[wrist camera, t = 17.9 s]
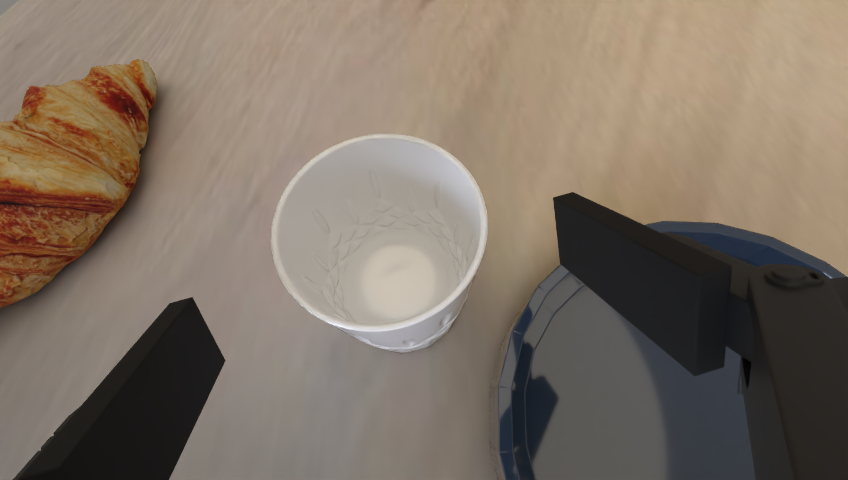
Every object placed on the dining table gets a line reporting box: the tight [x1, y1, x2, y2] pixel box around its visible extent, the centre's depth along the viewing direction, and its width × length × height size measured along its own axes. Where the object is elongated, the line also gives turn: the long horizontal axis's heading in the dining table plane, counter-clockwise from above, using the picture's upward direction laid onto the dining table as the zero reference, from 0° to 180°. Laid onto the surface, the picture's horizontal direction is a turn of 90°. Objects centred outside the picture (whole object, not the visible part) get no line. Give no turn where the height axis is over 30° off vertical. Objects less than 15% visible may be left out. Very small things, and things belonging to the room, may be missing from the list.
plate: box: [490, 221, 847, 480], centre depth 18 cm, size 20×20×4 cm
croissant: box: [0, 59, 157, 308], centre depth 25 cm, size 21×10×8 cm, turn 163°
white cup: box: [271, 134, 488, 353], centre depth 19 cm, size 8×8×10 cm
